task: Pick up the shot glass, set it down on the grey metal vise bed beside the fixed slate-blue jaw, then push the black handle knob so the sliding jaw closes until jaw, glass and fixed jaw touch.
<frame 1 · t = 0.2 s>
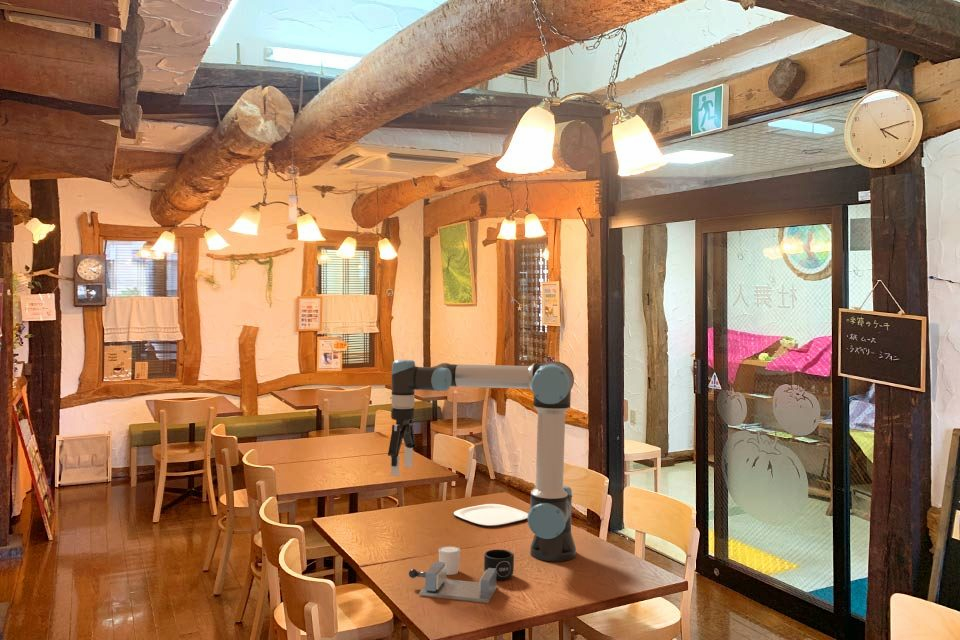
hand: (401, 471, 257), 27 cm above the table, fingers open, 13 cm apart
mug: (497, 576, 240), on the table
jaw: (425, 575, 228), point 4 cm above the table, slide at 0.0 cm
plate: (491, 518, 303), on the table
vise: (458, 591, 226), on the table
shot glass: (449, 572, 242), on the table
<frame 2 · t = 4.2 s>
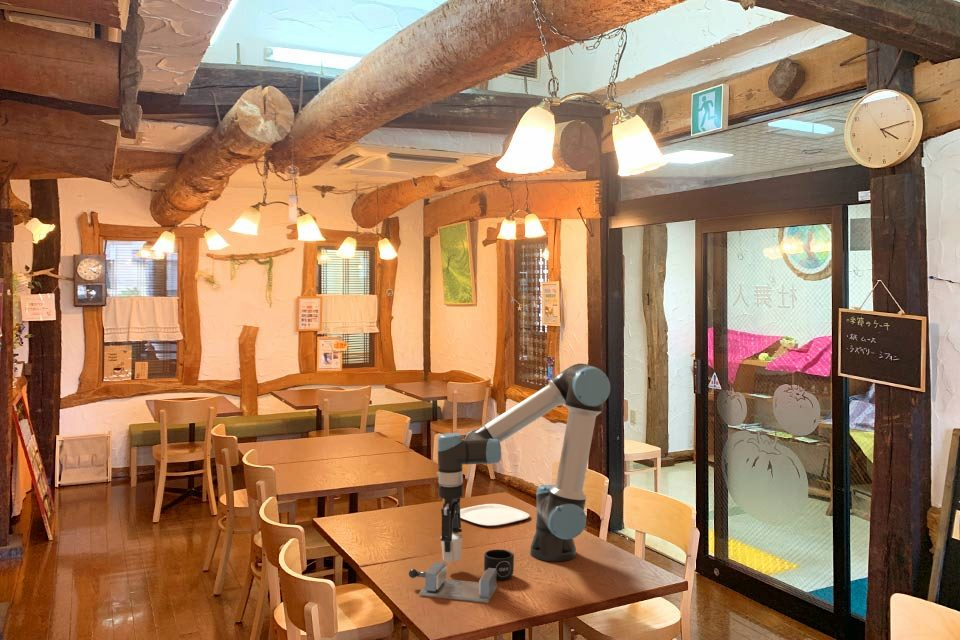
hand: (451, 557, 242), 4 cm above the table, fingers closed on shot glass, 7 cm apart
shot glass: (451, 559, 242), point 4 cm above the table, touching gripper
everything else where it was.
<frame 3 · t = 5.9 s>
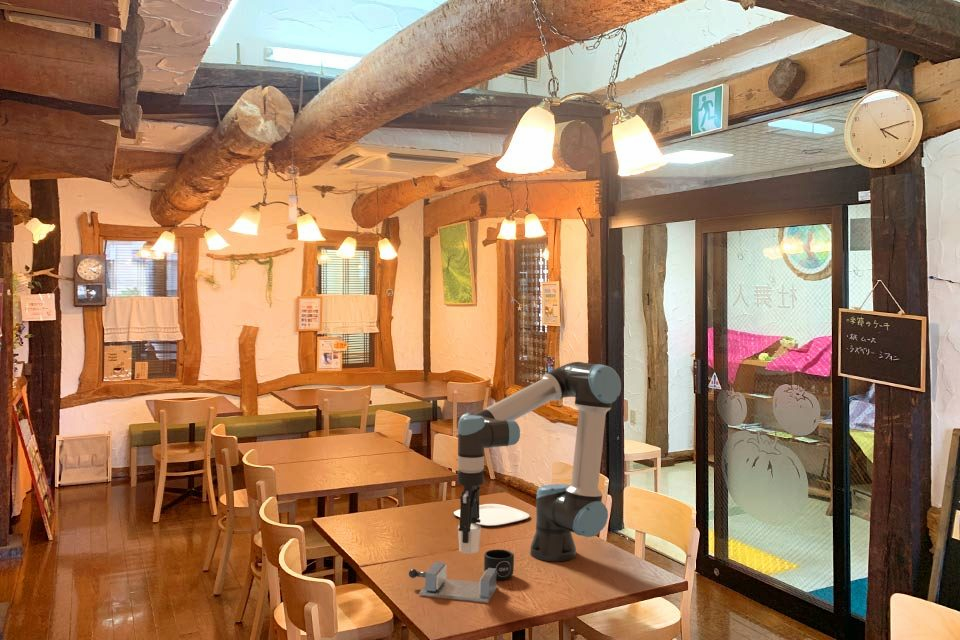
hand: (469, 549, 225), 13 cm above the table, fingers closed on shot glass, 7 cm apart
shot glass: (469, 550, 225), point 12 cm above the table, touching gripper
everything else where it was.
when the fingers open (2 cm above the table, at t = 7.8 s): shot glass stays where it is, resting on vise.
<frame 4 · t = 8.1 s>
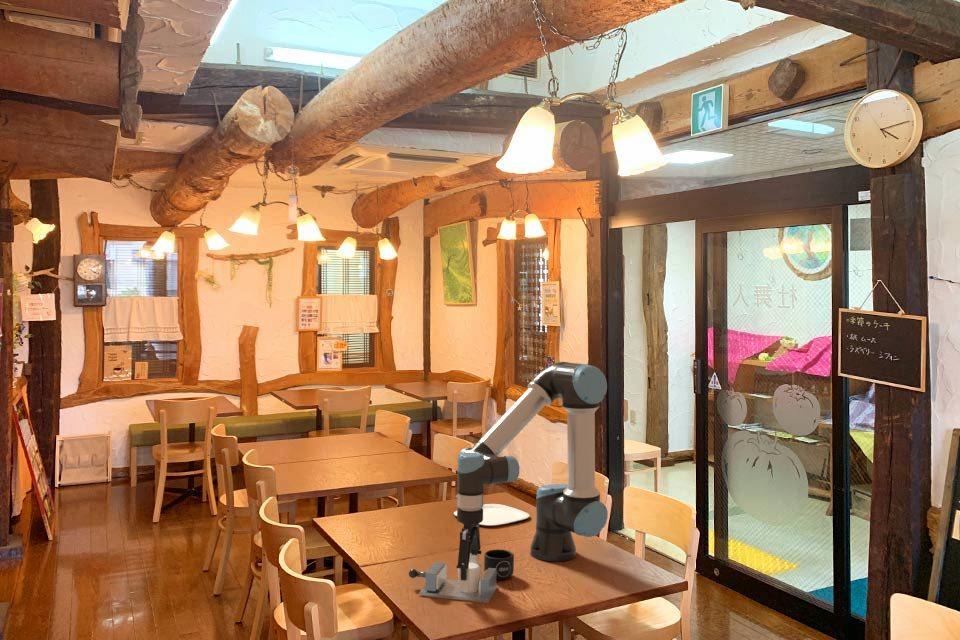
hand: (468, 583, 226), 3 cm above the table, fingers open, 10 cm apart
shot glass: (468, 589, 226), point 1 cm above the table, touching vise
everything else where it was.
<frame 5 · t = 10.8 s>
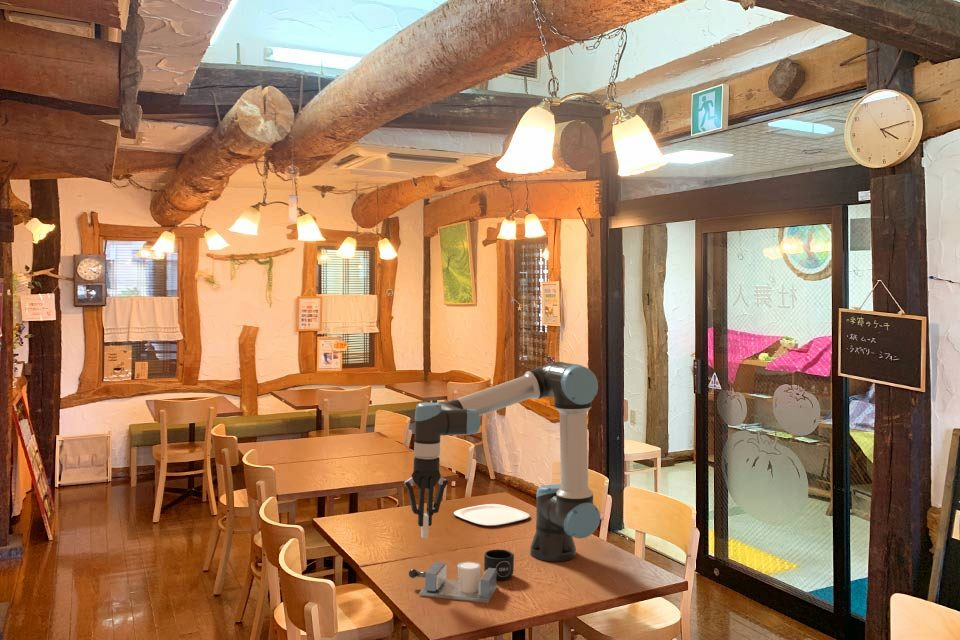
hand: (424, 536, 228), 15 cm above the table, fingers closed
nothing on the table moved.
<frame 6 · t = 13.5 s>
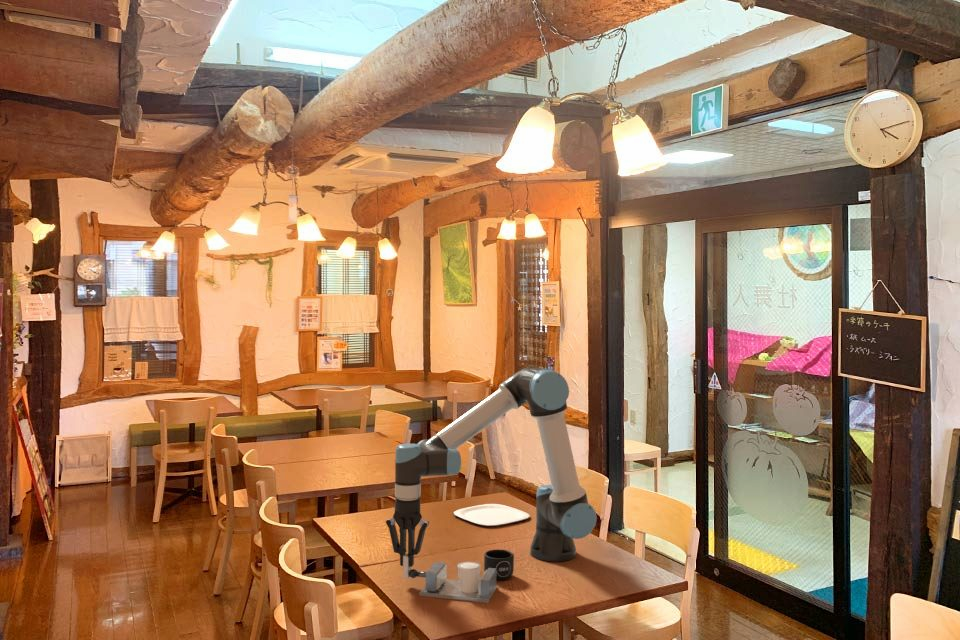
hand: (406, 576, 230), 3 cm above the table, fingers closed
jaw: (425, 575, 228), point 4 cm above the table, slide at 0.1 cm, touching gripper
everything else where it was.
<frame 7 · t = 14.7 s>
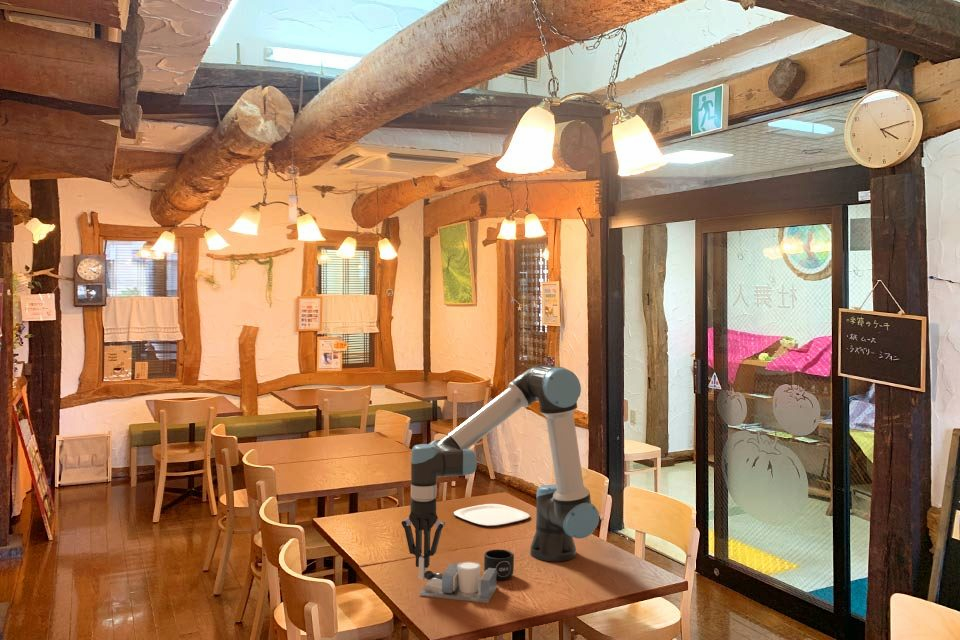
hand: (422, 577, 229), 3 cm above the table, fingers closed
jaw: (441, 576, 227), point 4 cm above the table, slide at 4.9 cm, touching gripper
everything else where it was.
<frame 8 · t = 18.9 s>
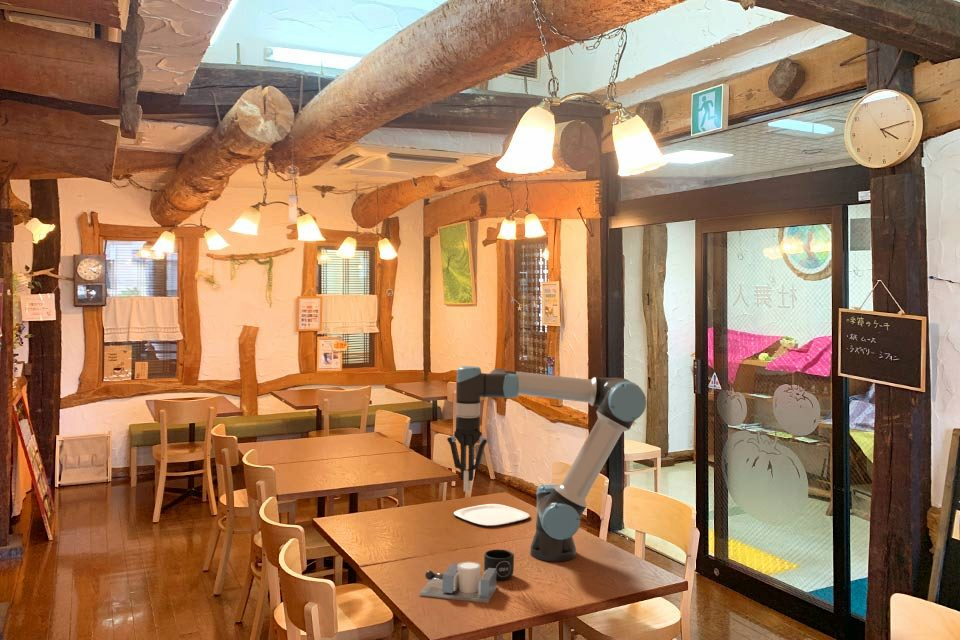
hand: (466, 490, 246), 24 cm above the table, fingers closed
jaw: (442, 576, 227), point 4 cm above the table, slide at 5.1 cm
everything else where it was.
at the end: jaw slide at 5.1 cm; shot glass inside the target area on the vise (0.0 cm from its centre), point 0.8 cm above the vise's base; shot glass tilted 0° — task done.
